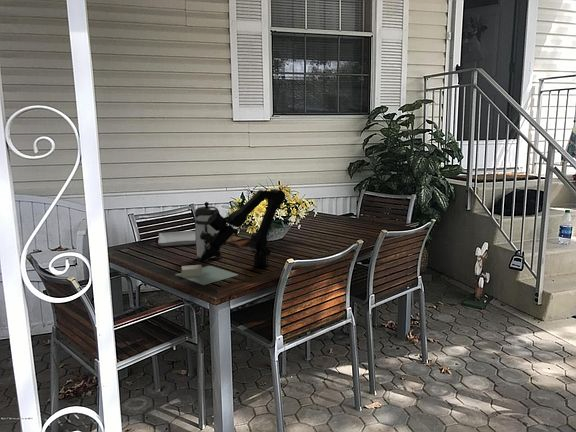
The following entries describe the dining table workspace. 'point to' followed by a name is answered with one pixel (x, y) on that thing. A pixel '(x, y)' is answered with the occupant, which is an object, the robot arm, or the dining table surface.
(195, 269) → the card box
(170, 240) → the square plate
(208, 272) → the rubber mat
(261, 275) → the dining table surface
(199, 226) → the coffee press
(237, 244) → the sunglasses case
